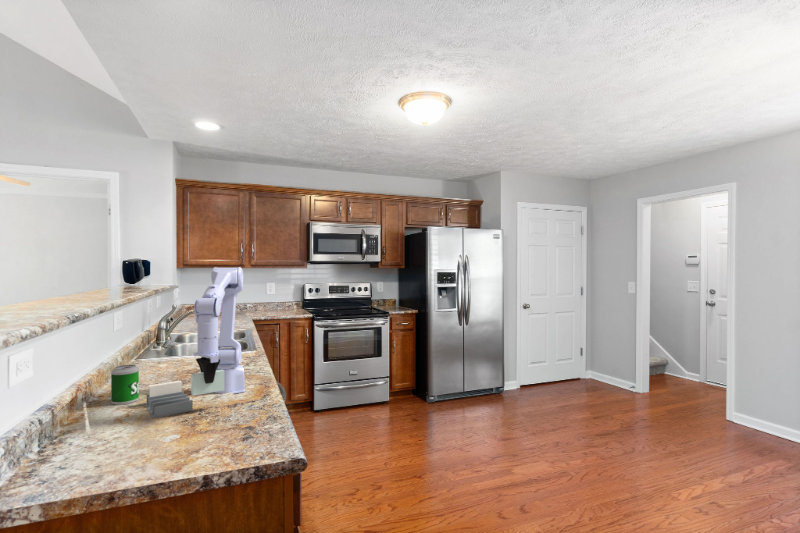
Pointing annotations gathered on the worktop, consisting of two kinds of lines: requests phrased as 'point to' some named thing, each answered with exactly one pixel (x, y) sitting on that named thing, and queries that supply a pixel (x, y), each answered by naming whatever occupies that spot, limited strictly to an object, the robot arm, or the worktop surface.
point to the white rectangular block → (165, 388)
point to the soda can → (124, 384)
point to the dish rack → (168, 404)
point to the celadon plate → (202, 388)
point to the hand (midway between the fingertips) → (208, 382)
